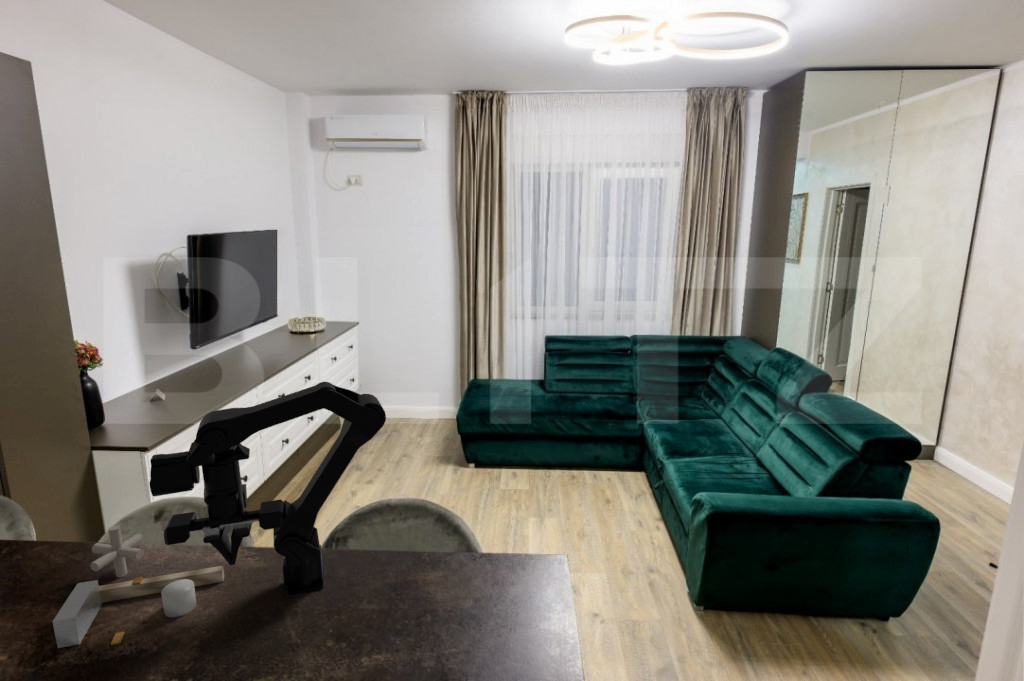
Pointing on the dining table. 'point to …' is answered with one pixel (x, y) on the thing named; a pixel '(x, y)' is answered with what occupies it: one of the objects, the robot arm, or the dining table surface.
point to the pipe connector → (117, 551)
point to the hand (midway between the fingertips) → (233, 563)
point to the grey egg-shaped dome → (178, 598)
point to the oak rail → (158, 583)
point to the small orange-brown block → (117, 638)
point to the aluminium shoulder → (77, 614)
